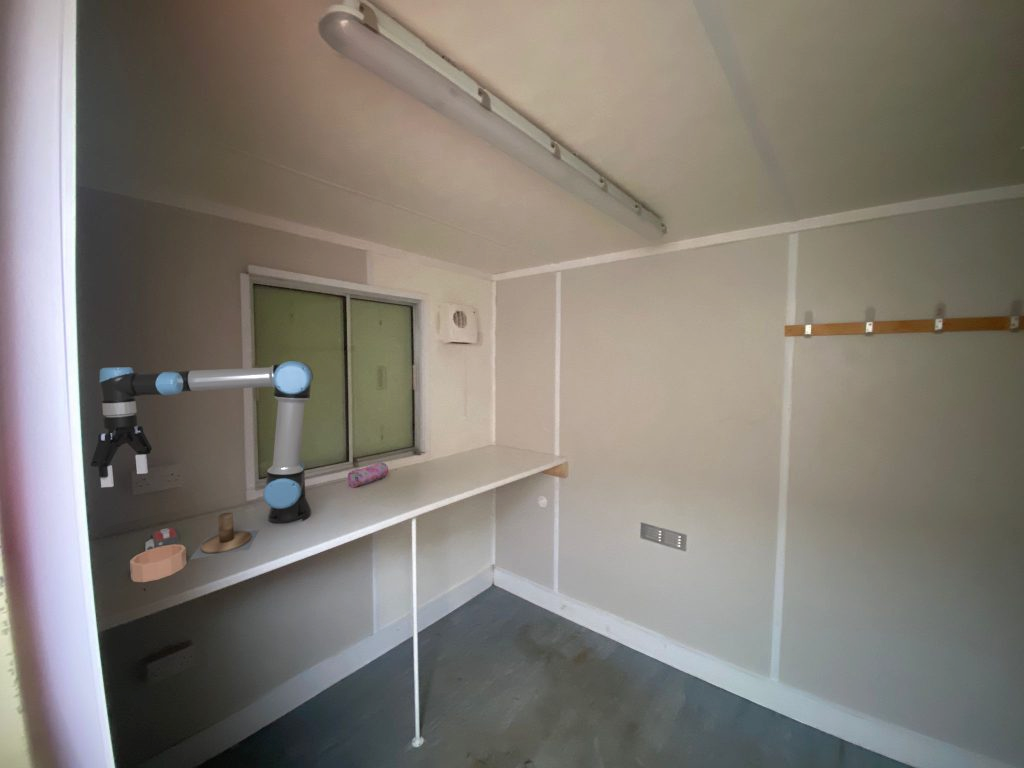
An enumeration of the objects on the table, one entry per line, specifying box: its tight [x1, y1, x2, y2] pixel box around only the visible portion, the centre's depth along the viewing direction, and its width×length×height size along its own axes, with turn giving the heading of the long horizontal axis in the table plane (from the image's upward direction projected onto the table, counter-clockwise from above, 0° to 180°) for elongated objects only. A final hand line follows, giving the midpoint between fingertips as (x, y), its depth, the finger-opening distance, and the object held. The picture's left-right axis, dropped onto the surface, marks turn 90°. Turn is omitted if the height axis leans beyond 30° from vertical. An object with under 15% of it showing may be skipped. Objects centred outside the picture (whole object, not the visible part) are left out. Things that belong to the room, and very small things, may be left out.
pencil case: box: [347, 461, 389, 488], centre depth 199 cm, size 21×9×9 cm, turn 149°
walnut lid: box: [200, 512, 251, 554], centre depth 131 cm, size 14×14×10 cm
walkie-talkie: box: [144, 526, 181, 551], centre depth 132 cm, size 9×4×20 cm
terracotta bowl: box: [129, 543, 187, 583], centre depth 114 cm, size 12×12×6 cm
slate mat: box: [188, 529, 259, 561], centre depth 131 cm, size 16×16×1 cm
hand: (125, 479), depth 122 cm, fingers open, 13 cm apart
